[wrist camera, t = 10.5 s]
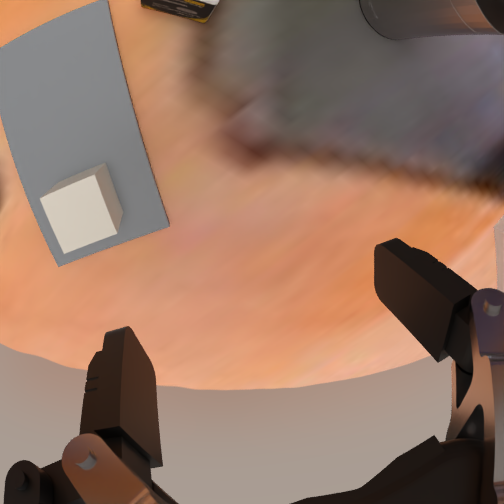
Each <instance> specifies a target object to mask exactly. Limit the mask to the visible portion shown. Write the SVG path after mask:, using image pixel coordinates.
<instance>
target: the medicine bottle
mask: <svg viewBox="0 0 504 504" xmlns="http://www.w3.org/2000/svg"><path fill="white" fill-rule="evenodd" d="M218 2H219V0H141V6H142V7H144V8H148V9H153V10H157V11H161V12H165V13H169V14H173V15H177V16H181V17H184V18H188V19H191V20H195V21H198V22H201V23H205V22H206V21H207V20H208V18H209V16H210V15H211V13H212V12H213V10H214V9H215V7H216V5H217V4H218Z"/></svg>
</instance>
